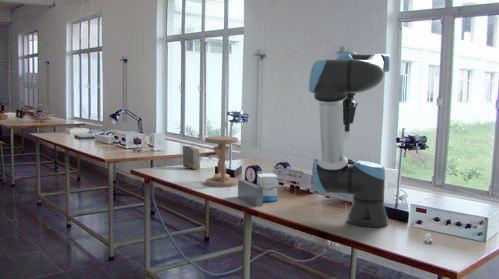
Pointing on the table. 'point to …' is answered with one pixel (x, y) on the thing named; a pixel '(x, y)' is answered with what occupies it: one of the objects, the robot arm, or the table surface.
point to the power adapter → (428, 238)
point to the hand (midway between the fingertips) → (345, 138)
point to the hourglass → (221, 162)
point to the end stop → (250, 192)
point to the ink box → (268, 186)
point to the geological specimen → (191, 157)
